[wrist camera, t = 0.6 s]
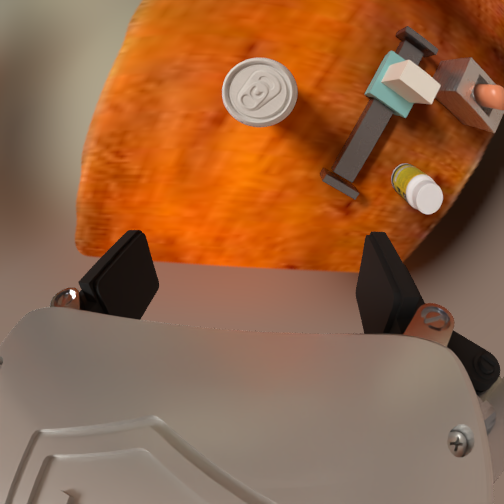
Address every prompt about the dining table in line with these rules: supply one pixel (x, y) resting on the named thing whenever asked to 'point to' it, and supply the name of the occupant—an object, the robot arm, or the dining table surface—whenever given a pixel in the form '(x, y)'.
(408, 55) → the rail
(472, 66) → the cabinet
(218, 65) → the dining table surface
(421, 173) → the supplement bottle
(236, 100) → the beer can
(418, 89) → the carriage
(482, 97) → the button
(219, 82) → the dining table surface
